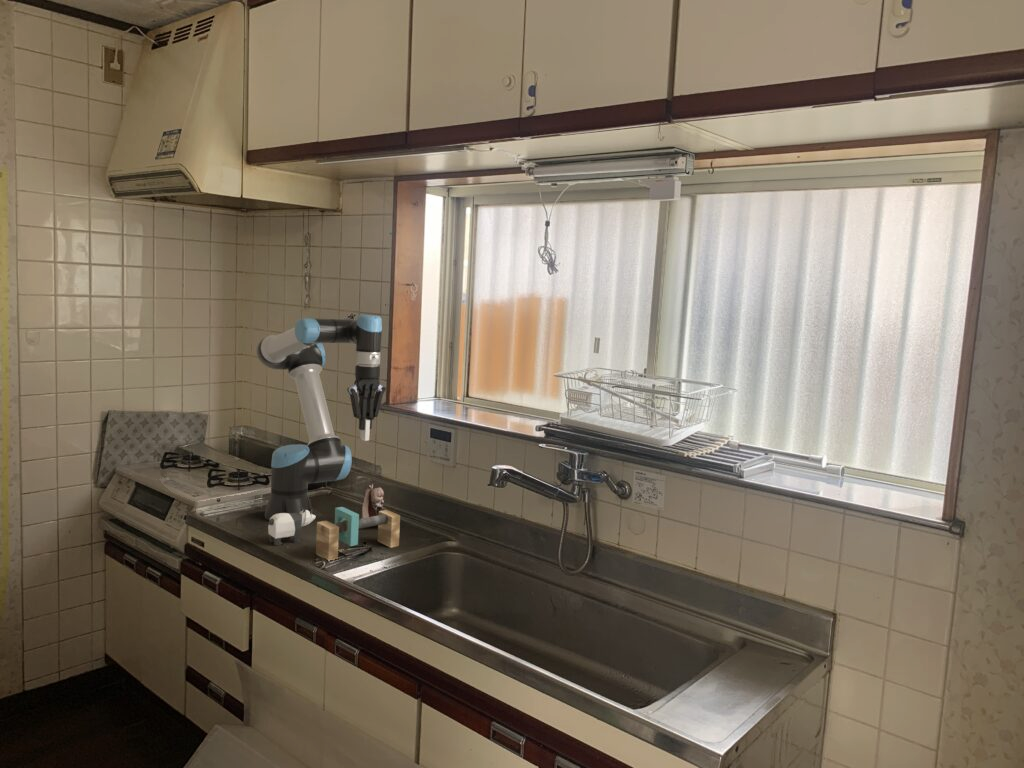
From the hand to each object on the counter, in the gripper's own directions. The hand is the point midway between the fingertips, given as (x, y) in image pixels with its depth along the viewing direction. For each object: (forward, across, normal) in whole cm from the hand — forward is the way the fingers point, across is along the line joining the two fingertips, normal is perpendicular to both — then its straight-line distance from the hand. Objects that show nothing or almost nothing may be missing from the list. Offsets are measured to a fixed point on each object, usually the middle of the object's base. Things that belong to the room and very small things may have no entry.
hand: (364, 439), depth 243 cm
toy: (+30, +6, +1) cm, 30 cm away
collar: (+26, -15, -15) cm, 33 cm away
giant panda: (+30, -23, +3) cm, 38 cm away
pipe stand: (+29, -10, -15) cm, 35 cm away
